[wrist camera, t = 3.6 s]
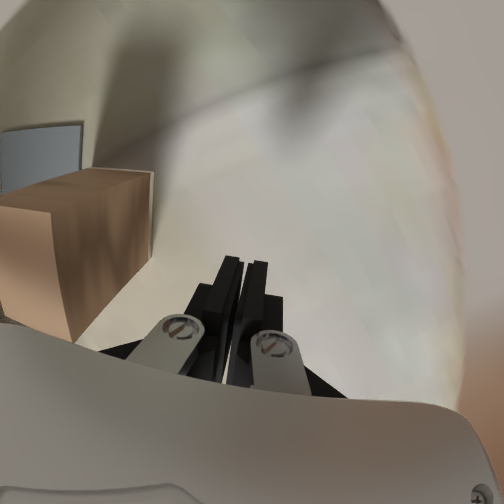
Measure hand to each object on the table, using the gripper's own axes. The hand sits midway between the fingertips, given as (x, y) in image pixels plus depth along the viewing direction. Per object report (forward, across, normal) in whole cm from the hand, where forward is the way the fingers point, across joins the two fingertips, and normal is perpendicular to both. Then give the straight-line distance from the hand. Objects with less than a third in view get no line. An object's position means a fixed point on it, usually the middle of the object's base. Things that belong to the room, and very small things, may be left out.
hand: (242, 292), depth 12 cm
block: (+8, +10, 0) cm, 12 cm away
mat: (+8, +18, 0) cm, 20 cm away
